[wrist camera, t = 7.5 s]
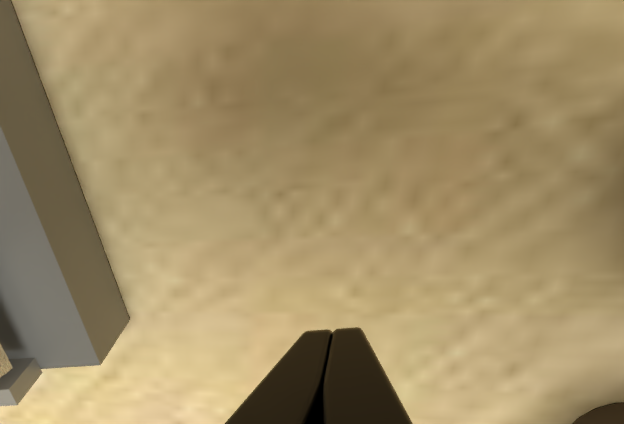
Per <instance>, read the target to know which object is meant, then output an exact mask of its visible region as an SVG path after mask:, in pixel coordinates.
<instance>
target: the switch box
mask: <svg viewBox="0 0 624 424" xmlns="http://www.w3.org/2000/svg"><path fill="white" fill-rule="evenodd" d="M129 320H130V319H129V316H128V313H127V311H126V308H125V305H124V303H123V300H122V297H121V295H120V292H119V289H118V287H117V284H116V281H115V279H114V276H113V273H112V271H111V268H110V265H109V263H108V260H107V257H106V254H105V252H104V249H103V246H102V244H101V241H100V238H99V236H98V233H97V230H96V228H95V225H94V222H93V220H92V217H91V214H90V212H89V209H88V206H87V204H86V201H85V198H84V196H83V193H82V190H81V188H80V185H79V182H78V180H77V177H76V174H75V171H74V169H73V166H72V163H71V161H70V158H69V155H68V153H67V150H66V147H65V145H64V142H63V139H62V137H61V134H60V131H59V129H58V126H57V123H56V121H55V118H54V115H53V113H52V110H51V107H50V105H49V102H48V99H47V97H46V94H45V91H44V88H43V86H42V83H41V80H40V78H39V75H38V72H37V70H36V67H35V64H34V62H33V59H32V56H31V54H30V51H29V48H28V46H27V43H26V40H25V38H24V35H23V32H22V30H21V27H20V24H19V22H18V19H17V16H16V14H15V11H14V8H13V5H12V3H11V0H0V343H1V345H2V347H3V349H4V351H5V353H6V355H7V357H8V359H9V361H10V363H11V365H12V367H13V368H12V369H11V370H10V371H8V372H7V373H6V374H4V375H3V376H2V377H1V378H0V406H10V405H18V403H19V402H20V401H21V400H22V398H23V397H24V396H25V394H26V393H27V392H28V390H29V389H30V388H31V387H32V385H33V384H34V383H35V381H36V380H37V379H38V378H39V376H40V375H41V374H42V371H41V369H47V368H62V367H78V366H94V365H101V364H102V362H103V360H104V359H105V357H106V356H107V354H108V353H109V351H110V350H111V348H112V347H113V345H114V343H115V342H116V340H117V339H118V337H119V336H120V334H121V333H122V331H123V330H124V328H125V326H126V325H127V323H128V322H129Z"/></svg>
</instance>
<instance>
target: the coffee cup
mask: <svg viewBox="0 0 624 424" xmlns="http://www.w3.org/2000/svg"><path fill="white" fill-rule="evenodd" d="M573 424H624V403H614V404H610V405H607V406H603V407H599V408H596V409H594V410H592V411H590V412H588V413H586V414H585V415H583V416H581V417H579V418H578V419H577V420H576V421H575V422H574V423H573Z"/></svg>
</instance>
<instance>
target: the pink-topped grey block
mask: <svg viewBox="0 0 624 424" xmlns="http://www.w3.org/2000/svg"><path fill="white" fill-rule="evenodd" d="M12 368H13V367H12V365H11V363H10V361H9V359H8V357H7V355H6V353H5V351H4V349H3V347H2V345H1V343H0V378H1V377H2V376H3V375H4V374H6V373H7V372H8V371H10V370H11V369H12Z"/></svg>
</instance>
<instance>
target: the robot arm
mask: <svg viewBox="0 0 624 424" xmlns="http://www.w3.org/2000/svg"><path fill="white" fill-rule="evenodd" d="M225 424H413V423H412V422H411V420H410V418H409V416H408V414H407V412H406V410H405V409H404V407H403V405H402V403H401V401H400V399H399V397H398V396H397V394H396V392H395V390H394V388H393V386H392V384H391V383H390V381H389V379H388V377H387V375H386V373H385V371H384V370H383V368H382V366H381V364H380V362H379V360H378V358H377V357H376V355H375V353H374V351H373V349H372V347H371V345H370V343H369V342H368V340H367V338H366V336H365V334H364V332H363V331H362V330H361V328H357V327H356V328H342V329H336V330H335V331H334V332H332V331H331V330H314V331H306V332H305V333H303V334H302V335H301V337H300V338H299V339H298V340H297V341H296V342H295V343H294V345H293V346H292V347H291V348H290V349H289V350H288V351H287V353H286V354H285V355H284V356H283V357H282V358H281V360H280V361H279V362H278V363H277V364H276V365H275V366H274V368H273V369H272V370H271V371H270V372H269V373H268V374H267V376H266V377H265V378H264V379H263V380H262V381H261V383H260V384H259V385H258V386H257V387H256V388H255V389H254V391H253V392H252V393H251V394H250V395H249V396H248V397H247V399H246V400H245V401H244V402H243V403H242V404H241V406H240V407H239V408H238V409H237V410H236V411H235V412H234V414H233V415H232V416H231V417H230V418H229V419H228V421H227V422H226V423H225Z"/></svg>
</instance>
